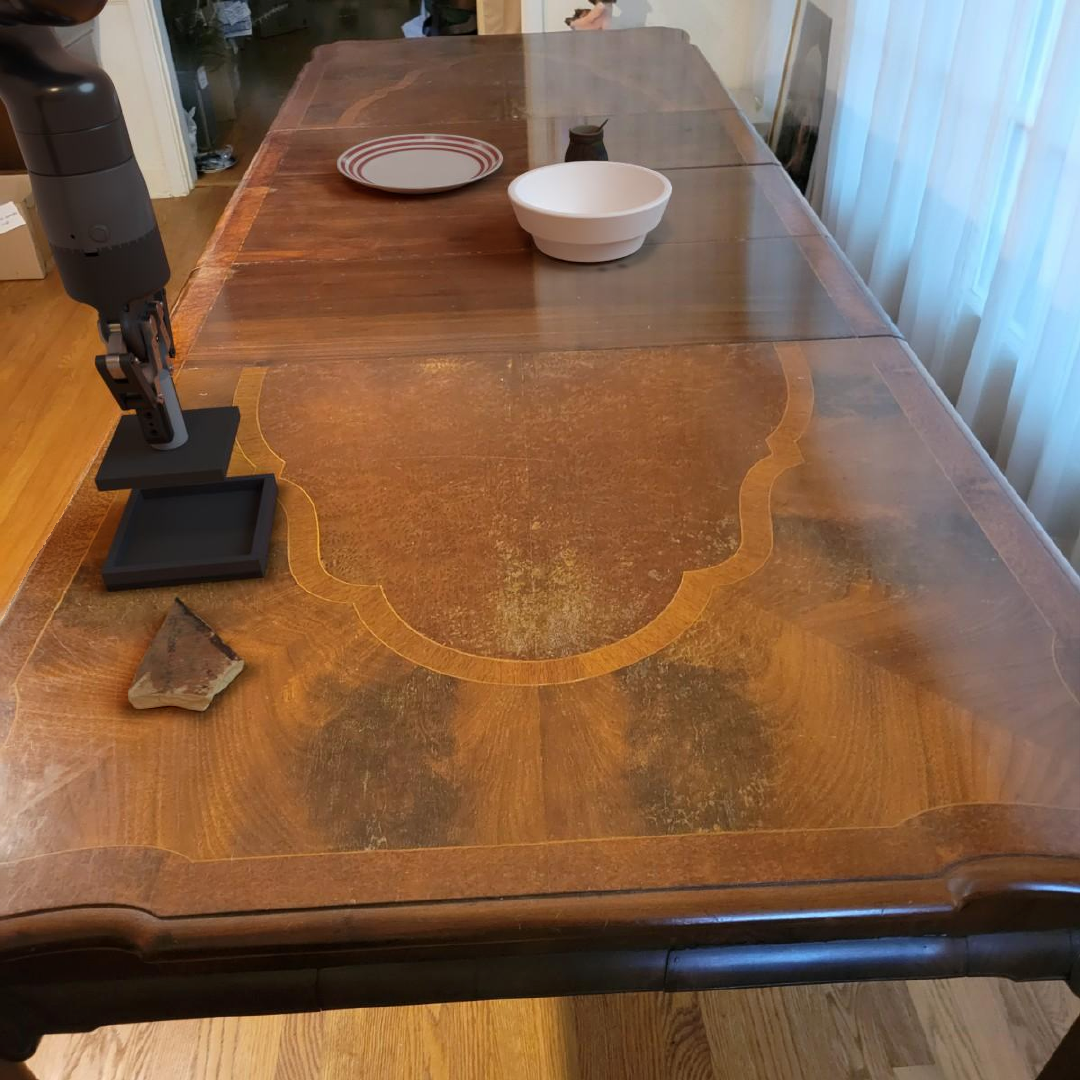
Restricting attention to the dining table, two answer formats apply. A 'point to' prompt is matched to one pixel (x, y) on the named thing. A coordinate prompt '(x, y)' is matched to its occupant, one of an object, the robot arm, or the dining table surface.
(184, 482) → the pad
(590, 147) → the mate gourd
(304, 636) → the dining table surface
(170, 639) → the shard
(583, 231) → the bowl
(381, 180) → the dinner plate
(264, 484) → the base pad
